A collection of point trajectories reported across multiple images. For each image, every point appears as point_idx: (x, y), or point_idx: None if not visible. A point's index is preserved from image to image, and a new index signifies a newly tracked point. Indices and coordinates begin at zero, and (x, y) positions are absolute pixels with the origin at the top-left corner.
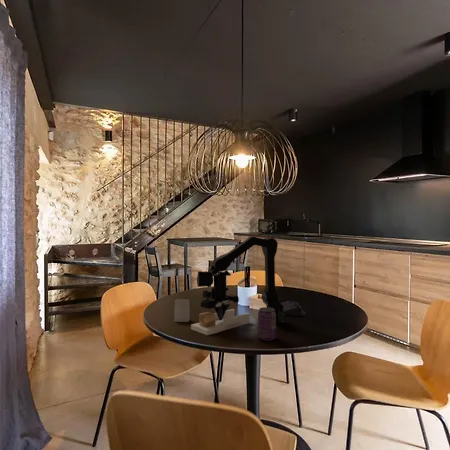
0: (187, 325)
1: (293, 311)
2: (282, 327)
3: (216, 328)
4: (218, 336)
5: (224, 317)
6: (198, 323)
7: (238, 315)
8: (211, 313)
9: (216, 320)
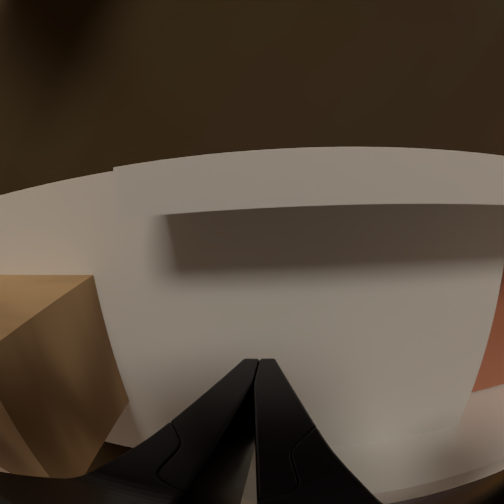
0: (17, 68)
1: None
2: (500, 497)
3: (110, 438)
4: (108, 454)
5: (475, 214)
6: (6, 216)
7: (465, 473)
8: (20, 455)
9: (264, 263)
